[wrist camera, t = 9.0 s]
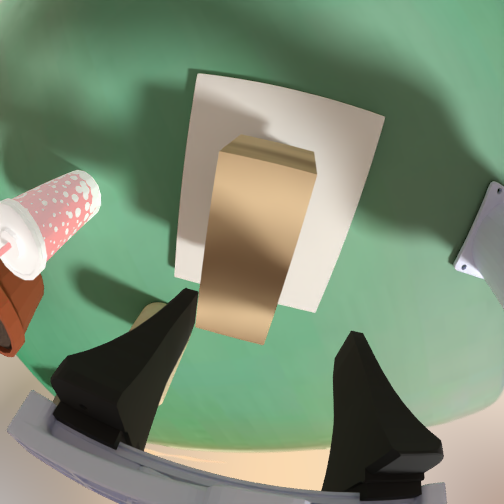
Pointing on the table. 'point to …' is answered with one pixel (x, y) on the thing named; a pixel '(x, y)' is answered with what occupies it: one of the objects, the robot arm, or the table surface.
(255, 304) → the tan rectangular block
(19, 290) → the potted plant
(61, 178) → the beverage cup
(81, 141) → the table surface
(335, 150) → the peg base
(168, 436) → the table surface
